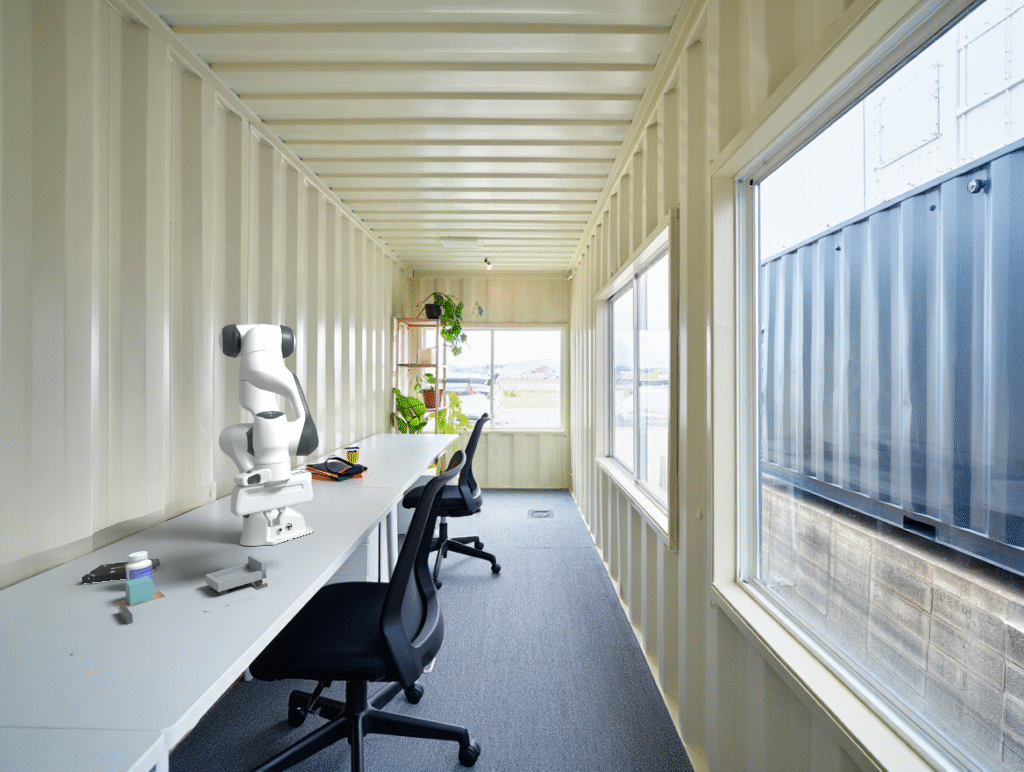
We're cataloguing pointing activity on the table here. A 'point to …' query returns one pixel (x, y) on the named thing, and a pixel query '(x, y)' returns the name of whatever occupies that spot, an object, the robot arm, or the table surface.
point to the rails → (127, 614)
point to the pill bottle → (138, 566)
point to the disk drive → (111, 572)
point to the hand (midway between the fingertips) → (274, 525)
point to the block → (139, 590)
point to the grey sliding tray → (238, 575)
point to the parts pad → (155, 594)
